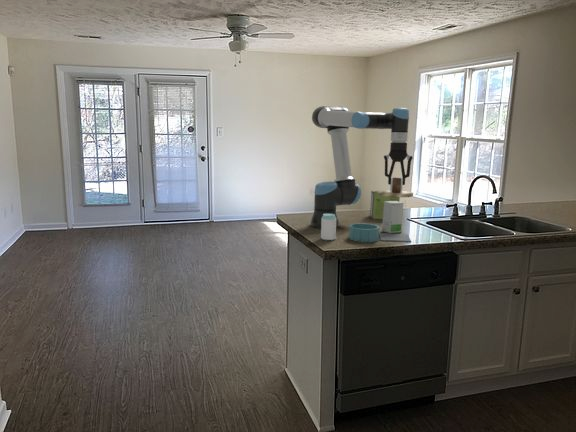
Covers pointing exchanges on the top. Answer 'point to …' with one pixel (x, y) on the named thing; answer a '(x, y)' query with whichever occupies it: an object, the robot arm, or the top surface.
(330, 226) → the can
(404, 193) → the lid
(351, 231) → the bowl
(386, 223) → the skincare box
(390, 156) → the robot arm
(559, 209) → the top surface
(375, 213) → the protein box
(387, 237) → the mat
